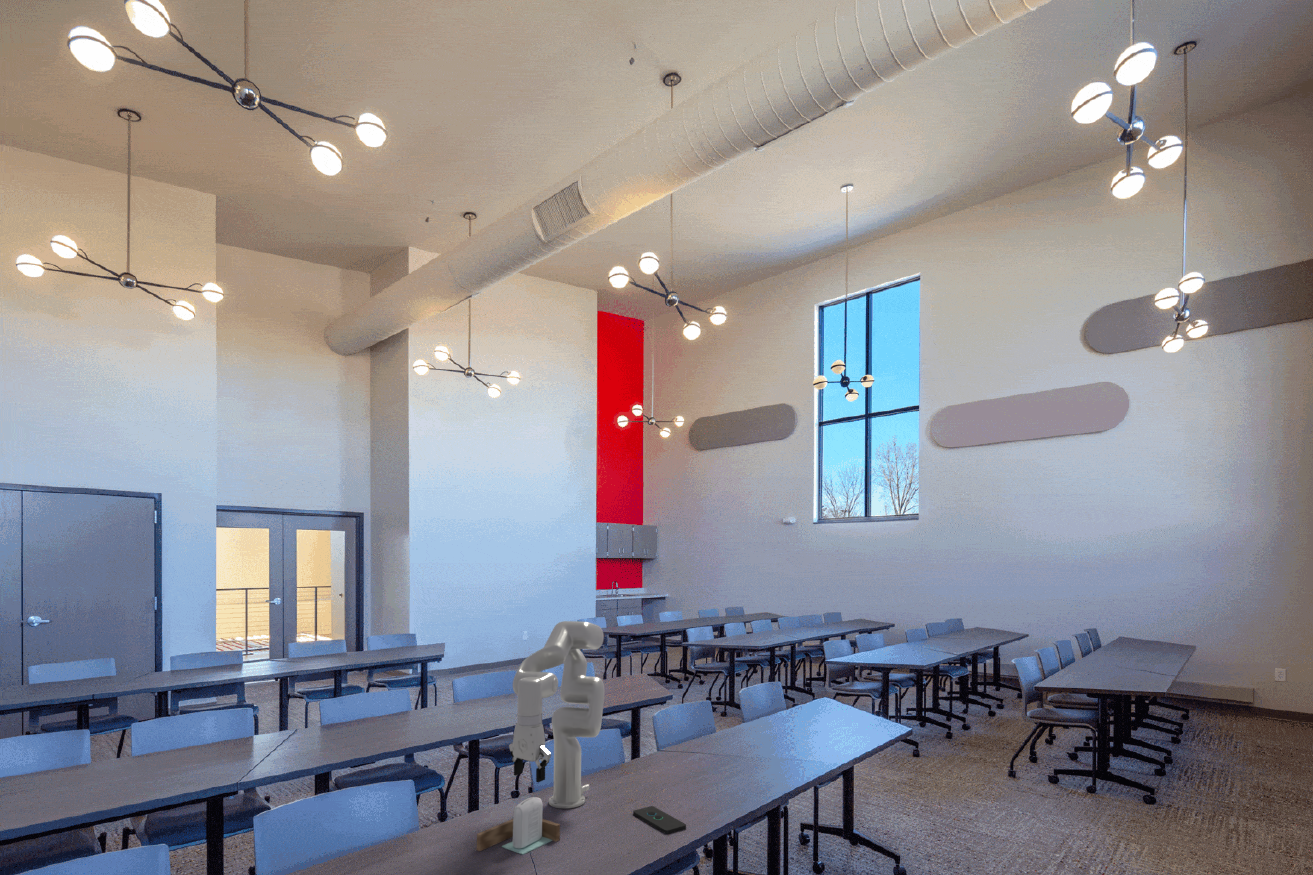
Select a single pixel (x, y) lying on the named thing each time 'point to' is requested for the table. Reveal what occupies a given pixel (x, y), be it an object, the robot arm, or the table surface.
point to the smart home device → (659, 820)
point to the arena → (506, 832)
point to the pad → (527, 848)
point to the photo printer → (527, 822)
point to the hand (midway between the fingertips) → (529, 777)
